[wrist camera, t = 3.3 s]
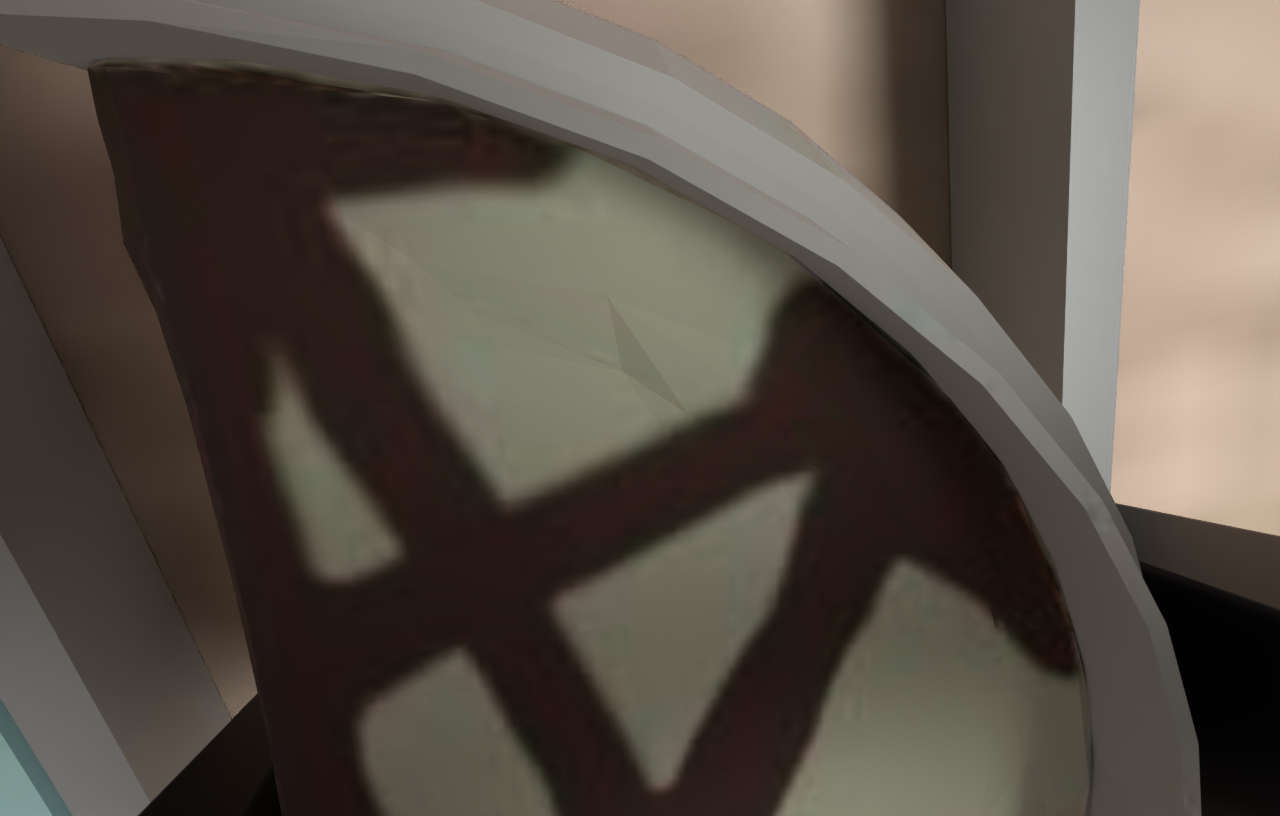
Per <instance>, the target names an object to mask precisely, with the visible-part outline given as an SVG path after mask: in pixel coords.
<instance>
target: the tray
mask: <svg viewBox="0 0 1280 816" xmlns="http://www.w3.org/2000/svg"><path fill="white" fill-rule="evenodd" d="M0 816H73V815H72V814H71V812H70V810H69V809H68V807H67V806H66V804H65V802H64V801H63V799H62V797H61V796H60V794H59V793H58V791H57V789H56V788H55V786H54V784H53V783H52V781H51V780H50V778H49V776H48V775H47V773H46V771H45V770H44V768H43V767H42V765H41V763H40V762H39V760H38V758H37V757H36V755H35V754H34V752H33V750H32V749H31V747H30V745H29V744H28V742H27V741H26V739H25V737H24V736H23V734H22V732H21V731H20V729H19V728H18V726H17V724H16V723H15V721H14V719H13V718H12V716H11V715H10V713H9V711H8V710H7V708H6V706H5V705H4V703H3V702H2V700H1V698H0Z"/></svg>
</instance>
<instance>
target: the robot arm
mask: <svg viewBox="0 0 1280 816" xmlns="http://www.w3.org/2000/svg"><path fill="white" fill-rule="evenodd" d="M1115 504H1116V506H1117V508H1118V510H1119V512H1120V514H1121V516H1122V518H1123V520H1124V522H1125V524H1126V526H1127V528H1128V530H1129V532H1130V534H1131V536H1132V538H1133V542H1134V546H1135V550H1136V553H1137V557H1138V561H1139V565H1140V568H1141V572H1142V576H1143V579H1144V581H1145V583H1146V585H1147V587H1148V589H1149V591H1150V593H1151V595H1152V597H1153V599H1154V601H1155V603H1156V605H1157V607H1158V609H1159V610H1160V612H1161V614H1162V616H1163V618H1164V620H1165V622H1166V624H1167V627H1168V631H1169V634H1170V638H1171V642H1172V646H1173V649H1174V653H1175V657H1176V661H1177V665H1178V668H1179V672H1180V676H1181V680H1182V683H1183V687H1184V691H1185V695H1186V699H1187V702H1188V706H1189V710H1190V714H1191V717H1192V721H1193V725H1194V729H1195V733H1196V736H1197V740H1198V744H1199V767H1200V792H1201V816H1280V536H1276V535H1271V534H1266V533H1261V532H1256V531H1251V530H1246V529H1241V528H1236V527H1231V526H1226V525H1221V524H1216V523H1211V522H1206V521H1201V520H1196V519H1191V518H1186V517H1181V516H1176V515H1171V514H1166V513H1161V512H1157V511H1152V510H1147V509H1142V508H1137V507H1132V506H1127V505H1122V504H1117V503H1115ZM138 816H282V813H281V808H280V802H279V796H278V791H277V785H276V780H275V774H274V768H273V763H272V757H271V752H270V746H269V741H268V736H267V732H266V727H265V723H264V718H263V714H262V709H261V705H260V700H259V696H258V693H257V694H256V695H255V696H254V698H253V699H252V700H251V701H250V702H249V703H248V704H247V705H246V706H245V707H244V708H243V709H242V710H241V711H240V712H239V713H238V714H237V715H236V716H235V717H234V718H233V719H232V720H231V721H230V722H229V723H228V724H227V725H226V726H225V727H224V728H223V729H222V730H221V731H220V732H219V733H218V734H217V735H216V736H215V737H214V738H213V739H212V740H211V741H210V742H209V743H208V744H207V745H206V746H205V747H204V748H203V750H202V751H201V752H200V753H199V754H198V755H197V756H196V757H195V758H194V759H193V760H192V761H191V762H190V763H189V764H188V765H187V766H186V767H185V768H184V769H183V770H182V771H181V772H180V773H179V774H178V775H177V776H176V777H175V778H174V779H173V780H172V781H171V782H170V783H169V784H168V785H167V786H166V787H165V788H164V789H163V790H162V791H161V792H160V793H159V794H158V795H157V796H156V797H155V798H154V799H153V800H152V801H151V802H150V803H149V804H148V806H147V807H146V808H145V809H144V810H143V811H142V812H141V813H140V814H139V815H138Z"/></svg>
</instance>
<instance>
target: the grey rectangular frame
mask: <svg viewBox="0 0 1280 816" xmlns="http://www.w3.org/2000/svg"><path fill="white" fill-rule="evenodd" d="M1139 8H1140V0H946V35H947V78H948V121H949V164H950V206H951V249H952V271H953V272H954V273H955V274H956V275H957V276H958V277H959V278H960V279H961V280H962V281H963V282H964V283H965V284H966V285H967V286H968V287H969V289H970V290H971V291H972V292H973V293H974V294H975V295H976V296H977V297H978V298H979V300H980V301H981V302H982V303H983V305H984V306H985V307H986V308H987V310H988V311H989V312H990V314H991V315H992V316H993V317H994V319H995V320H996V321H997V322H998V324H999V325H1000V326H1001V328H1002V329H1003V330H1004V331H1005V333H1006V334H1007V335H1008V336H1009V338H1010V339H1011V340H1012V342H1013V343H1014V344H1015V345H1016V347H1017V348H1018V349H1019V351H1020V352H1021V353H1022V354H1023V356H1024V357H1025V358H1026V359H1027V361H1028V362H1029V363H1030V365H1031V366H1032V367H1033V368H1034V370H1035V371H1036V372H1037V373H1038V375H1039V376H1040V377H1041V379H1042V380H1043V381H1044V382H1045V384H1046V385H1047V386H1048V388H1049V389H1050V390H1051V391H1052V393H1053V394H1054V395H1055V396H1056V398H1057V399H1058V400H1059V402H1060V403H1061V404H1062V405H1063V407H1064V408H1065V409H1066V410H1067V412H1068V413H1069V414H1070V416H1071V417H1072V419H1073V421H1074V423H1075V425H1076V427H1077V429H1078V431H1079V433H1080V434H1081V436H1082V438H1083V440H1084V442H1085V444H1086V446H1087V448H1088V450H1089V452H1090V454H1091V456H1092V458H1093V460H1094V462H1095V464H1096V466H1097V468H1098V470H1099V472H1100V474H1101V476H1102V478H1103V480H1104V482H1105V484H1106V486H1107V488H1108V490H1109V492H1110V489H1111V473H1112V456H1113V439H1114V423H1115V406H1116V390H1117V373H1118V356H1119V340H1120V323H1121V307H1122V290H1123V273H1124V257H1125V240H1126V224H1127V207H1128V190H1129V174H1130V157H1131V140H1132V124H1133V107H1134V91H1135V74H1136V57H1137V41H1138V24H1139ZM0 698H1V700H2V702H3V703H4V705H5V706H6V708H7V710H8V711H9V713H10V715H11V716H12V718H13V719H14V721H15V723H16V724H17V726H18V728H19V729H20V731H21V732H22V734H23V736H24V737H25V739H26V741H27V742H28V744H29V745H30V747H31V749H32V750H33V752H34V754H35V755H36V757H37V758H38V760H39V762H40V763H41V765H42V767H43V768H44V770H45V771H46V773H47V775H48V776H49V778H50V780H51V781H52V783H53V784H54V786H55V788H56V789H57V791H58V793H59V794H60V796H61V797H62V799H63V801H64V802H65V804H66V806H67V807H68V809H69V810H70V812H71V814H72V815H73V816H138V815H139V814H140V813H141V812H142V811H143V810H144V809H145V808H146V807H147V806H148V804H149V803H150V802H151V801H152V800H153V799H154V798H155V797H156V796H157V795H158V794H159V793H160V792H161V791H162V790H163V789H164V788H165V787H166V786H167V785H168V784H169V783H170V782H171V781H172V780H173V779H174V778H175V777H176V776H177V775H178V774H179V773H180V772H181V771H182V770H183V769H184V768H185V767H186V766H187V765H188V764H189V763H190V762H191V761H192V760H193V759H194V758H195V757H196V756H197V755H198V754H199V753H200V752H201V751H202V750H203V748H204V747H205V746H206V745H207V744H208V743H209V742H210V741H211V740H212V739H213V738H214V737H215V736H216V735H217V734H218V733H219V732H220V731H221V730H222V729H223V728H224V727H225V726H226V725H227V724H228V723H229V722H230V721H231V720H232V719H231V717H230V715H229V713H228V711H227V709H226V707H225V705H224V703H223V700H222V698H221V696H220V694H219V692H218V690H217V688H216V686H215V684H214V682H213V680H212V677H211V675H210V673H209V671H208V669H207V667H206V665H205V663H204V661H203V659H202V657H201V655H200V652H199V650H198V648H197V646H196V644H195V642H194V640H193V638H192V636H191V634H190V632H189V629H188V627H187V625H186V623H185V621H184V619H183V617H182V615H181V613H180V611H179V609H178V607H177V604H176V602H175V600H174V598H173V596H172V594H171V592H170V590H169V588H168V586H167V584H166V581H165V579H164V577H163V575H162V573H161V571H160V569H159V567H158V565H157V563H156V561H155V559H154V556H153V554H152V552H151V550H150V548H149V546H148V544H147V542H146V540H145V538H144V536H143V533H142V531H141V529H140V527H139V525H138V523H137V521H136V519H135V517H134V515H133V513H132V511H131V508H130V506H129V504H128V502H127V500H126V498H125V496H124V494H123V492H122V490H121V488H120V485H119V483H118V481H117V479H116V477H115V475H114V473H113V471H112V469H111V467H110V465H109V463H108V460H107V458H106V456H105V454H104V452H103V450H102V448H101V446H100V444H99V442H98V440H97V437H96V435H95V433H94V431H93V429H92V427H91V425H90V423H89V421H88V419H87V417H86V415H85V412H84V410H83V408H82V406H81V404H80V402H79V400H78V398H77V396H76V394H75V392H74V389H73V387H72V385H71V383H70V381H69V379H68V377H67V375H66V373H65V371H64V369H63V367H62V364H61V362H60V360H59V358H58V356H57V354H56V352H55V350H54V348H53V346H52V344H51V342H50V339H49V337H48V335H47V333H46V331H45V329H44V327H43V325H42V323H41V321H40V319H39V316H38V314H37V312H36V310H35V308H34V306H33V304H32V302H31V300H30V298H29V296H28V294H27V291H26V289H25V287H24V285H23V283H22V281H21V279H20V277H19V275H18V273H17V271H16V268H15V266H14V264H13V262H12V260H11V258H10V256H9V254H8V252H7V250H6V248H5V246H4V243H3V241H2V239H1V237H0Z"/></svg>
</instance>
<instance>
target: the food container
mask: <svg viewBox="0 0 1280 816" xmlns="http://www.w3.org/2000/svg"><path fill="white" fill-rule="evenodd" d="M0 45H3V46H6V47H10V48H13V49H17V50H20V51H23V52H27V53H30V54H33V55H37V56H40V57H43V58H47V59H50V60H53V61H57V62H60V63H63V64H67V65H70V66H74V67H77V68H80V69H84V70H87V71H88V74H89V79H90V84H91V88H92V93H93V98H94V103H95V108H96V113H97V117H98V122H99V125H100V128H101V132H102V135H103V138H104V142H105V145H106V148H107V152H108V155H109V158H110V162H111V165H112V168H113V172H114V176H115V184H116V191H117V198H118V205H119V212H120V219H121V226H122V234H123V241H124V245H125V247H126V249H127V251H128V253H129V255H130V258H131V260H132V262H133V264H134V266H135V268H136V270H137V272H138V274H139V277H140V279H141V281H142V283H143V285H144V287H145V289H146V291H147V293H148V296H149V298H150V300H151V302H152V304H153V306H154V308H155V310H156V313H157V316H158V319H159V322H160V325H161V328H162V331H163V334H164V337H165V340H166V343H167V347H168V350H169V353H170V356H171V359H172V362H173V365H174V368H175V371H176V374H177V377H178V380H179V383H180V386H181V389H182V392H183V395H184V398H185V401H186V404H187V407H188V411H189V415H190V419H191V423H192V427H193V430H194V434H195V438H196V442H197V446H198V450H199V454H200V457H201V461H202V465H203V469H204V473H205V477H206V481H207V484H208V488H209V492H210V496H211V500H212V504H213V508H214V511H215V515H216V519H217V523H218V527H219V531H220V534H221V538H222V542H223V546H224V550H225V554H226V558H227V561H228V565H229V569H230V573H231V577H232V581H233V585H234V588H235V592H236V596H237V601H238V605H239V610H240V614H241V619H242V623H243V628H244V632H245V637H246V641H247V646H248V651H249V655H250V660H251V664H252V669H253V673H254V678H255V682H256V687H257V691H258V696H259V700H260V705H261V709H262V714H263V718H264V723H265V727H266V732H267V736H268V741H269V746H270V752H271V757H272V763H273V768H274V774H275V780H276V785H277V791H278V796H279V802H280V808H281V813H282V816H1201V792H1200V767H1199V744H1198V740H1197V736H1196V733H1195V729H1194V725H1193V721H1192V717H1191V714H1190V710H1189V706H1188V702H1187V699H1186V695H1185V691H1184V687H1183V683H1182V680H1181V676H1180V672H1179V668H1178V665H1177V661H1176V657H1175V653H1174V649H1173V646H1172V642H1171V638H1170V634H1169V631H1168V627H1167V624H1166V622H1165V620H1164V618H1163V616H1162V614H1161V612H1160V610H1159V609H1158V607H1157V605H1156V603H1155V601H1154V599H1153V597H1152V595H1151V593H1150V591H1149V589H1148V587H1147V585H1146V583H1145V581H1144V579H1143V576H1142V572H1141V568H1140V565H1139V561H1138V557H1137V553H1136V550H1135V546H1134V542H1133V538H1132V536H1131V534H1130V532H1129V530H1128V528H1127V526H1126V524H1125V522H1124V520H1123V518H1122V516H1121V514H1120V512H1119V510H1118V508H1117V506H1116V504H1115V502H1114V500H1113V498H1112V496H1111V494H1110V492H1109V490H1108V488H1107V486H1106V484H1105V482H1104V480H1103V478H1102V476H1101V474H1100V472H1099V470H1098V468H1097V466H1096V464H1095V462H1094V460H1093V458H1092V456H1091V454H1090V452H1089V450H1088V448H1087V446H1086V444H1085V442H1084V440H1083V438H1082V436H1081V434H1080V433H1079V431H1078V429H1077V427H1076V425H1075V423H1074V421H1073V419H1072V417H1071V416H1070V414H1069V413H1068V412H1067V410H1066V409H1065V408H1064V407H1063V405H1062V404H1061V403H1060V402H1059V400H1058V399H1057V398H1056V396H1055V395H1054V394H1053V393H1052V391H1051V390H1050V389H1049V388H1048V386H1047V385H1046V384H1045V382H1044V381H1043V380H1042V379H1041V377H1040V376H1039V375H1038V373H1037V372H1036V371H1035V370H1034V368H1033V367H1032V366H1031V365H1030V363H1029V362H1028V361H1027V359H1026V358H1025V357H1024V356H1023V354H1022V353H1021V352H1020V351H1019V349H1018V348H1017V347H1016V345H1015V344H1014V343H1013V342H1012V340H1011V339H1010V338H1009V336H1008V335H1007V334H1006V333H1005V331H1004V330H1003V329H1002V328H1001V326H1000V325H999V324H998V322H997V321H996V320H995V319H994V317H993V316H992V315H991V314H990V312H989V311H988V310H987V308H986V307H985V306H984V305H983V303H982V302H981V301H980V300H979V298H978V297H977V296H976V295H975V294H974V293H973V292H972V291H971V290H970V289H969V287H968V286H967V285H966V284H965V283H964V282H963V281H962V280H961V279H960V278H959V277H958V276H957V275H956V274H955V273H954V272H953V271H952V270H951V269H950V268H949V267H948V266H947V264H946V263H945V262H944V261H943V260H942V259H941V258H940V257H939V256H938V255H937V254H936V253H935V252H934V251H933V250H932V249H931V248H930V247H929V246H928V245H927V244H926V242H925V241H924V240H923V239H922V238H921V237H920V236H919V235H918V234H917V233H916V232H915V231H914V230H913V229H912V228H911V227H910V226H909V225H908V224H907V223H906V222H905V221H904V219H903V218H902V217H901V216H900V215H898V214H897V213H896V212H895V211H894V210H893V209H891V208H890V207H889V206H888V205H887V204H886V203H885V202H883V201H882V200H881V199H880V198H879V197H878V196H876V195H875V194H874V193H873V192H872V191H871V190H869V189H868V188H867V187H866V186H865V185H864V184H863V183H861V182H860V181H859V180H858V179H857V178H856V177H854V176H853V175H852V174H851V173H850V172H849V171H847V170H846V169H845V168H844V167H843V166H842V165H841V164H839V163H838V162H837V161H836V160H835V159H834V158H832V157H831V156H830V155H829V154H828V153H827V152H825V151H824V150H823V149H822V148H821V147H820V146H819V145H817V144H816V143H815V142H814V141H813V140H812V139H810V138H809V137H808V136H807V135H806V134H805V133H803V132H802V131H801V130H800V129H799V128H798V127H797V126H795V125H794V124H793V123H792V122H791V121H789V120H788V119H786V118H784V117H782V116H781V115H779V114H777V113H776V112H774V111H772V110H771V109H769V108H767V107H766V106H764V105H762V104H761V103H759V102H757V101H756V100H754V99H752V98H751V97H749V96H747V95H746V94H744V93H742V92H741V91H739V90H737V89H736V88H734V87H732V86H731V85H729V84H727V83H726V82H724V81H722V80H721V79H719V78H717V77H716V76H714V75H712V74H711V73H709V72H707V71H706V70H704V69H702V68H701V67H699V66H697V65H696V64H694V63H692V62H691V61H689V60H687V59H686V58H684V57H682V56H681V55H679V54H677V53H676V52H674V51H672V50H671V49H669V48H667V47H666V46H664V45H662V44H661V43H659V42H657V41H656V40H654V39H652V38H650V37H647V36H644V35H642V34H639V33H637V32H634V31H632V30H629V29H627V28H624V27H622V26H619V25H616V24H614V23H611V22H609V21H606V20H604V19H601V18H599V17H596V16H593V15H591V14H588V13H586V12H583V11H581V10H578V9H576V8H573V7H571V6H568V5H565V4H563V3H560V2H558V1H555V0H0Z"/></svg>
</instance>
